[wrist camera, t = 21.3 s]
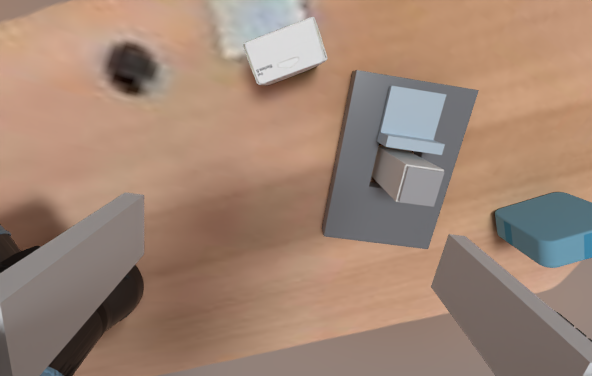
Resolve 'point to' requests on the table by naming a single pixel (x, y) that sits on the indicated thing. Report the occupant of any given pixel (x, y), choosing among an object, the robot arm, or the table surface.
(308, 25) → the ink box
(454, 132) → the socket block
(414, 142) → the light blue l-shaped block
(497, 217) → the data package
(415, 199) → the plug
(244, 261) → the table surface
